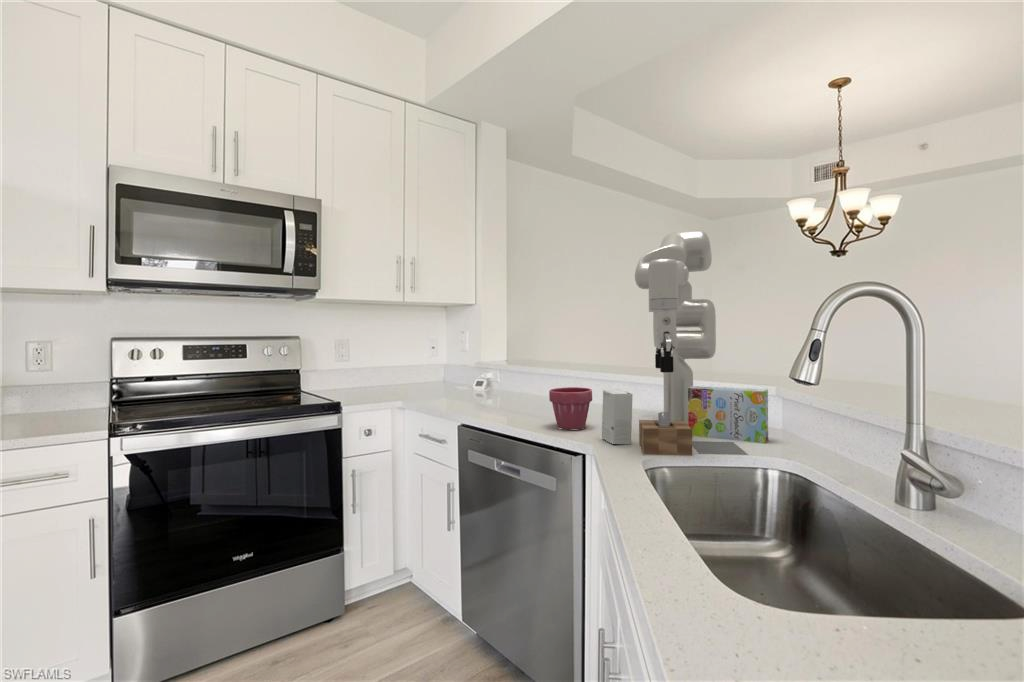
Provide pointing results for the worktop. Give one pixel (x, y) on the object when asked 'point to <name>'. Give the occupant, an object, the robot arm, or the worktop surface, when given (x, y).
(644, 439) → the hole block
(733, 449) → the mat
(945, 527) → the worktop surface
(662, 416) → the pin
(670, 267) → the robot arm
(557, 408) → the plant pot
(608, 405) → the skincare box
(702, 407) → the snack box
